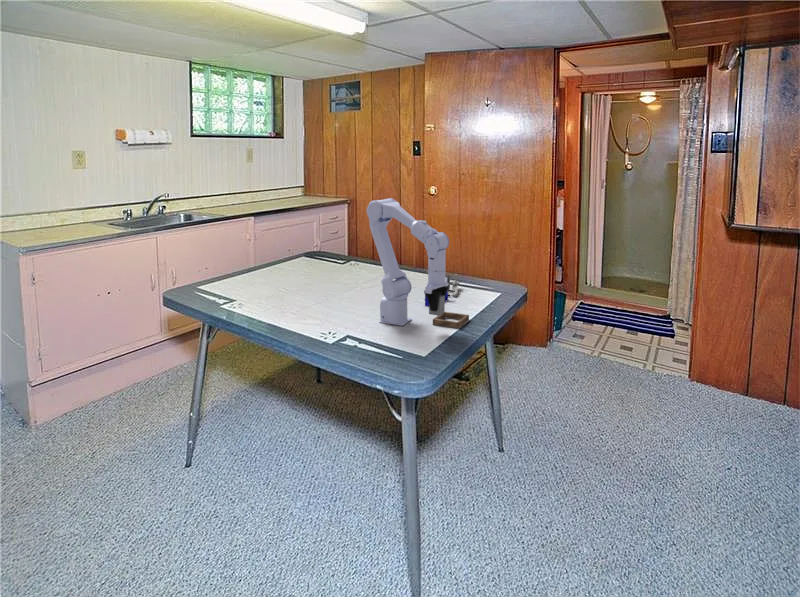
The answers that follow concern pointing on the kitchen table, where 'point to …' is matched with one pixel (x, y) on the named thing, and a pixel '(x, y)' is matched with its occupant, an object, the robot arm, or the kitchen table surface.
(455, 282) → the bike brake
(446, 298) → the cable clip
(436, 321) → the brown square frame
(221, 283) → the kitchen table surface
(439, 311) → the grey block
